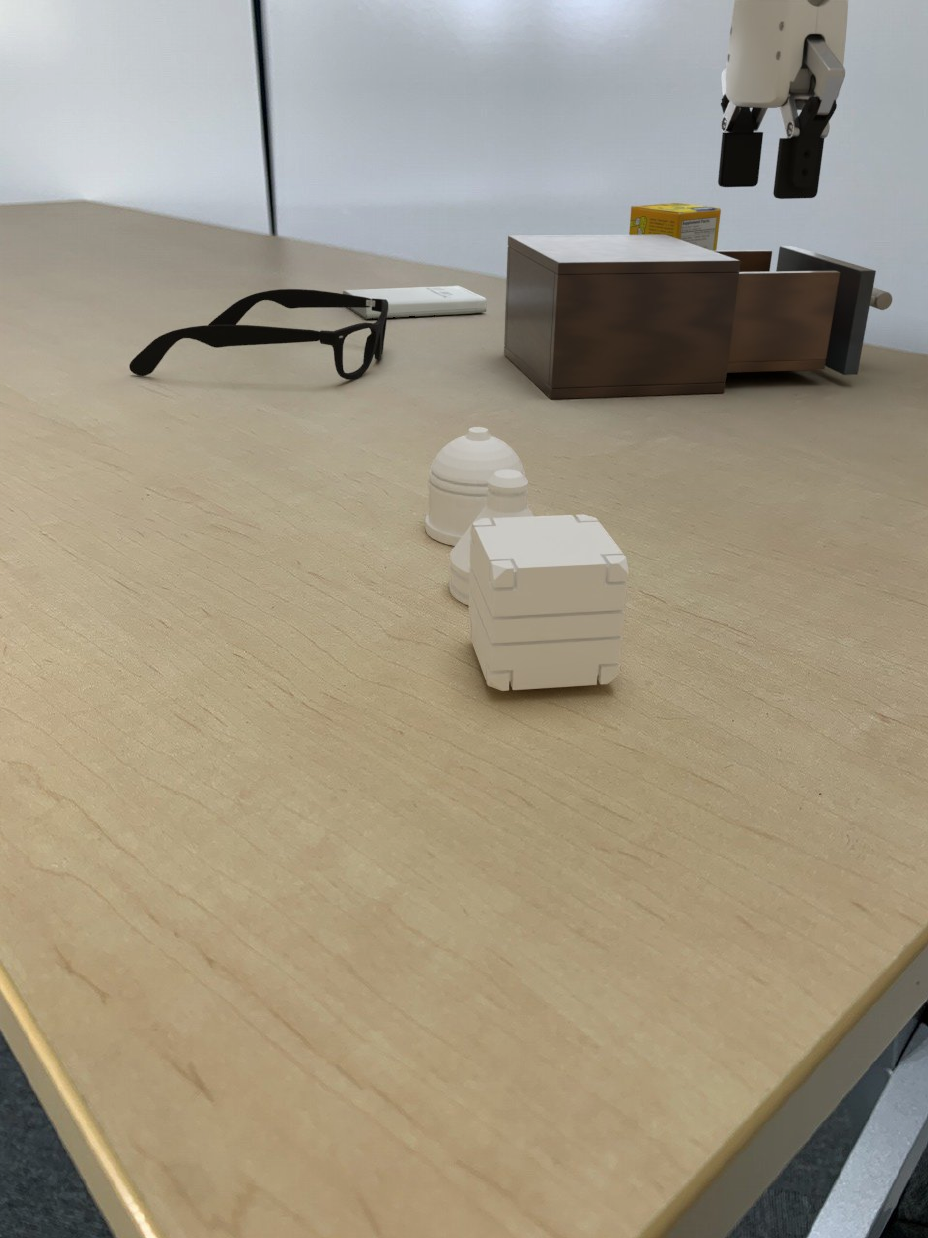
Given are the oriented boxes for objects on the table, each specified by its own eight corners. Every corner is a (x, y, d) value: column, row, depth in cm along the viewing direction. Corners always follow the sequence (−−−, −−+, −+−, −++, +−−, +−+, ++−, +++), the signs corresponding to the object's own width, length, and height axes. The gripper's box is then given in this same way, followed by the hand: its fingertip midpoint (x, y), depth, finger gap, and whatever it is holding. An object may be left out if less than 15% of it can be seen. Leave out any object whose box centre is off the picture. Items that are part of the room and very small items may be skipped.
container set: (621, 693, 42) (633, 560, 40) (486, 701, 41) (490, 566, 39) (515, 509, 60) (519, 409, 57) (419, 513, 59) (419, 412, 56)
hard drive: (342, 305, 112) (457, 299, 116) (366, 320, 105) (486, 313, 109) (342, 288, 111) (457, 283, 115) (366, 303, 104) (487, 296, 108)
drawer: (822, 337, 98) (837, 245, 94) (906, 373, 86) (927, 269, 83) (644, 341, 95) (653, 246, 91) (707, 379, 83) (719, 272, 79)
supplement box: (661, 320, 108) (672, 201, 103) (709, 330, 104) (723, 207, 99) (619, 327, 105) (629, 204, 100) (667, 338, 100) (680, 210, 96)
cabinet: (655, 350, 96) (666, 234, 92) (724, 393, 83) (741, 260, 79) (503, 354, 93) (507, 235, 89) (551, 399, 80) (558, 262, 76)
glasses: (348, 405, 81) (349, 336, 78) (123, 377, 83) (118, 310, 81) (404, 356, 95) (406, 297, 93) (211, 333, 98) (209, 275, 96)
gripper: (912, -86, 70) (869, 201, 77) (785, -57, 85) (760, 181, 93) (803, -89, 68) (770, 204, 76) (694, -59, 84) (676, 183, 91)
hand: (764, 191), depth 84 cm, fingers open, 9 cm apart
